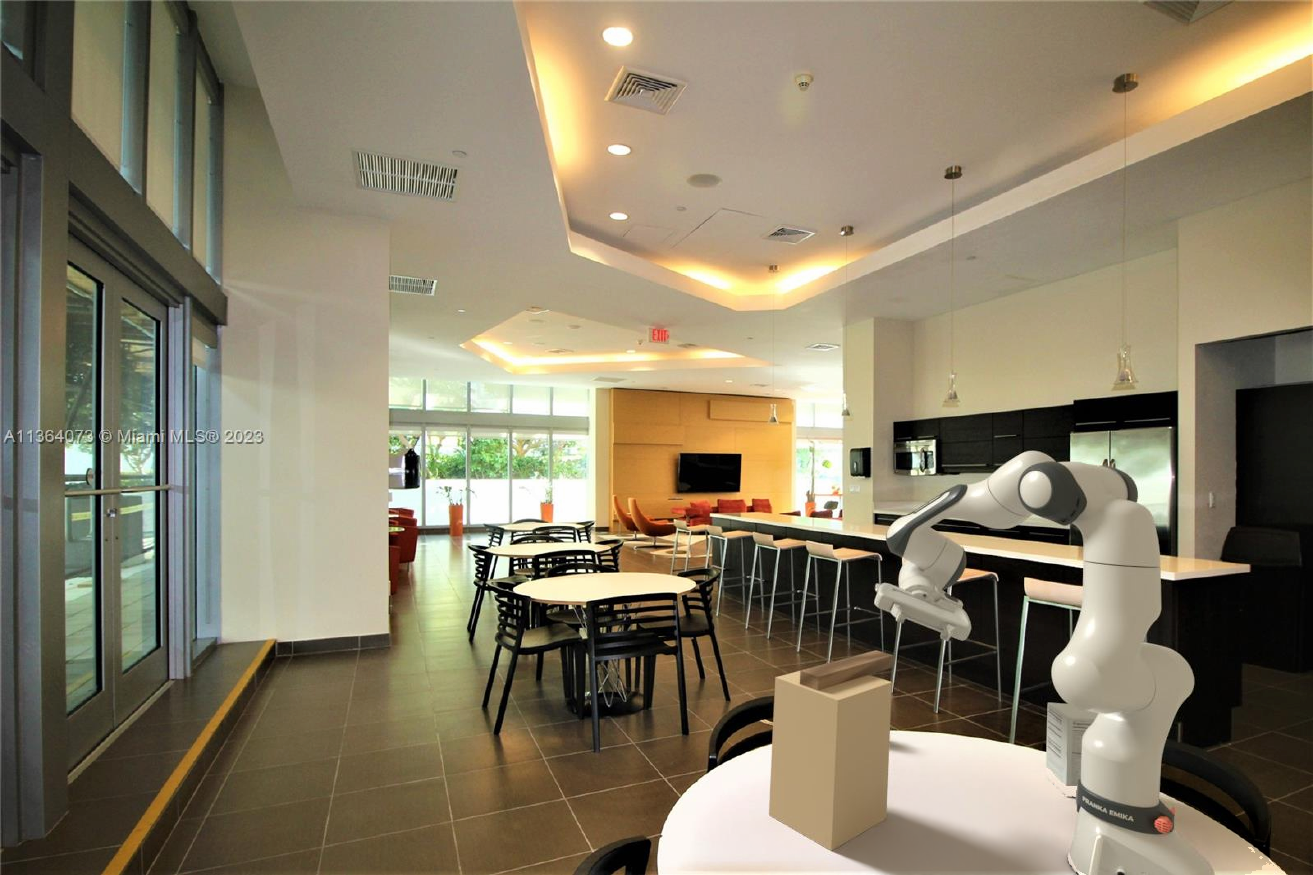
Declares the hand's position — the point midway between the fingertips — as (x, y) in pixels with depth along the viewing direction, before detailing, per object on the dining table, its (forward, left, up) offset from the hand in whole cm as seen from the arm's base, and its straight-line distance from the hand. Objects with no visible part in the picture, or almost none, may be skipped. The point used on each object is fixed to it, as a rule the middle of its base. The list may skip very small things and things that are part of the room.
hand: (923, 628), depth 139 cm
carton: (+5, +25, -34) cm, 42 cm away
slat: (+5, +20, -8) cm, 22 cm away
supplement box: (-20, -31, -34) cm, 51 cm away
